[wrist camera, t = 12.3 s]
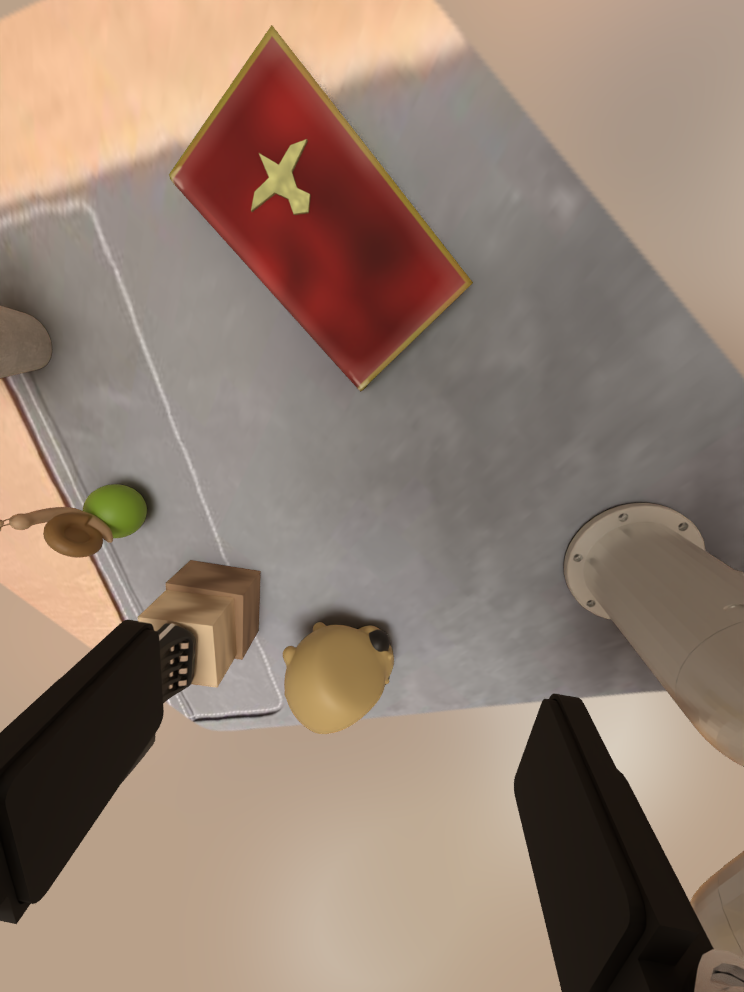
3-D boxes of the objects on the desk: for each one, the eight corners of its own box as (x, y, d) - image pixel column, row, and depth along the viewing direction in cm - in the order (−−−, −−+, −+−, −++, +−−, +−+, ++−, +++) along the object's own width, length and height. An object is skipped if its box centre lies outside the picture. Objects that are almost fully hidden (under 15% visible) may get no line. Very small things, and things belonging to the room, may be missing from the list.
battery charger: (202, 688, 38) (105, 817, 27) (165, 677, 38) (55, 799, 27) (206, 629, 35) (102, 743, 25) (167, 617, 36) (47, 724, 25)
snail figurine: (114, 461, 41) (2, 500, 30) (166, 499, 42) (77, 550, 31) (93, 499, 43) (-20, 549, 32) (144, 534, 44) (51, 595, 33)
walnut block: (261, 570, 44) (243, 595, 40) (259, 629, 47) (242, 659, 42) (191, 559, 45) (165, 583, 40) (193, 618, 47) (169, 647, 43)
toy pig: (350, 654, 51) (412, 709, 44) (265, 705, 43) (324, 781, 36) (353, 589, 48) (421, 638, 40) (262, 632, 40) (326, 701, 33)
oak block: (233, 597, 40) (212, 625, 36) (236, 654, 42) (217, 687, 38) (166, 589, 40) (137, 617, 36) (173, 646, 43) (146, 678, 38)
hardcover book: (363, 389, 37) (357, 393, 33) (192, 199, 33) (163, 177, 29) (465, 291, 34) (473, 282, 30) (288, 66, 30) (270, 21, 26)
